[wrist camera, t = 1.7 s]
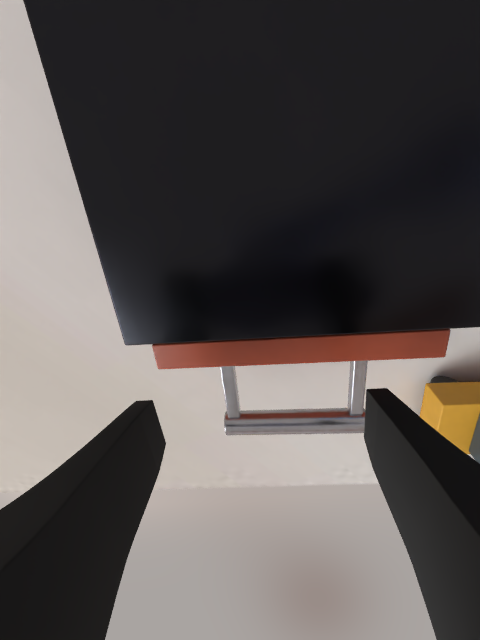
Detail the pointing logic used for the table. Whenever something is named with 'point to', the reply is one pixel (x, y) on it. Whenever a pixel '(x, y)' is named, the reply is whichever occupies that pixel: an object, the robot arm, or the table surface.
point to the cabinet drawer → (301, 351)
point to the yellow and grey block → (454, 412)
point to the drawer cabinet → (274, 161)
